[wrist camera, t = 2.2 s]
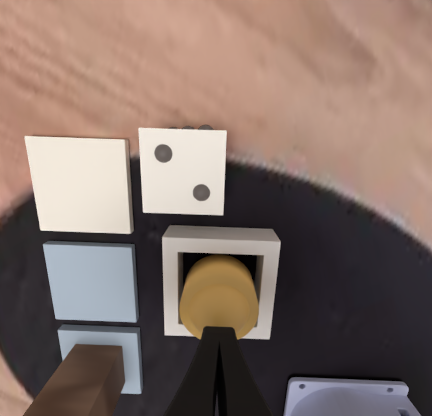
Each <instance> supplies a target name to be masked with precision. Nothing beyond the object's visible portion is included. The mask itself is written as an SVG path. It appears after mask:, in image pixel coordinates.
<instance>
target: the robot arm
mask: <svg viewBox="0 0 432 416" xmlns="http://www.w3.org/2000/svg"><path fill="white" fill-rule="evenodd" d="M408 391H409V388H408V387H407V385H406V384H405V383H404V382H401V381H378V380H354V379H329V378H305V377H292V378H291V379H290V380H289V382H288V388H287V395H286V401H285V408H284V415H283V416H421V415H420V413H419V412H418V411H417V409H416V408H415V407H414V405H413V404H412V403H411V401H410V400H409V399H408V397H407V394H408ZM216 395H218V410H219V416H274V415H273V413H272V412H271V410H270V408H269V407H268V405H267V403H266V401H265V399H264V398H263V396H262V394H261V392H260V390H259V388H258V386H257V384H256V382H255V380H254V378H253V376H252V374H251V372H250V370H249V367H248V365H247V363H246V361H245V358H244V356H243V354H242V351H241V348H240V346H239V343H238V340H237V337H236V333H235V329H234V328H233V327H217V326H205V327H204V328H203V332H202V336H201V340H200V343H199V345H198V348H197V351H196V353H195V356H194V358H193V360H192V363H191V365H190V367H189V369H188V371H187V373H186V375H185V377H184V379H183V381H182V383H181V385H180V387H179V389H178V391H177V393H176V395H175V397H174V398H173V400H172V402H171V404H170V405H169V407H168V409H167V410H166V412H165V414H164V415H163V416H215V406H216Z"/></svg>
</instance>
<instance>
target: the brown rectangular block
mask: <svg viewBox="0 0 432 416" xmlns="http://www.w3.org/2000/svg"><path fill="white" fill-rule="evenodd" d="M124 384H125V372H124V361H123V349H122V346H116V345H91V344H75V345H74V346H73V348H72V349H71V351H70V352H69V353H68V355H67V356H66V357H65V359H64V360H63V362H62V363H61V364H60V366H59V367H58V368H57V370H56V371H55V372H54V374H53V375H52V377H51V378H50V379H49V381H48V382H47V383H46V385H45V386H44V387H43V389H42V390H41V392H40V393H39V394H38V396H37V397H36V398H35V400H34V401H33V402H32V404H31V405H30V407H29V408H28V409H27V411H26V412H25V413H24V415H23V416H112V414H113V412H114V409H115V407H116V404H117V402H118V399H119V397H120V394H121V392H122V389H123V387H124Z"/></svg>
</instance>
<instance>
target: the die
mask: <svg viewBox="0 0 432 416" xmlns="http://www.w3.org/2000/svg"><path fill="white" fill-rule="evenodd" d="M226 135H227V131H223V130H214V129H213V128H212V127H211V126H209V125H202V126H201V127H199V129H198V130H195V129H194V128H193V127H191V126H185V127H183V128H182V129H178V128H176V127H170V128H168V129H158V128H139V146H140V165H141V183H142V202H143V213H171V214H200V215H223V209H224V184H225V159H226Z"/></svg>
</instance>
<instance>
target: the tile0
mask: <svg viewBox="0 0 432 416" xmlns="http://www.w3.org/2000/svg"><path fill="white" fill-rule="evenodd" d="M58 335H59V341H60V347H61V353H62V359H63V360H64V359H65V357H66V356H67V355H68V353H69V352H70V351H71V349H72V348H73V346H74V345H75V344H91V345H116V346H122V349H123V361H124V372H125V384H124V387H123V389H122V392H121V393H130V394H141V392H142V389H143V374H142V358H141V341H140V327H117V326H92V325H67V324H63V325H62V326H61V327H60V328H59V329H58Z"/></svg>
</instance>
